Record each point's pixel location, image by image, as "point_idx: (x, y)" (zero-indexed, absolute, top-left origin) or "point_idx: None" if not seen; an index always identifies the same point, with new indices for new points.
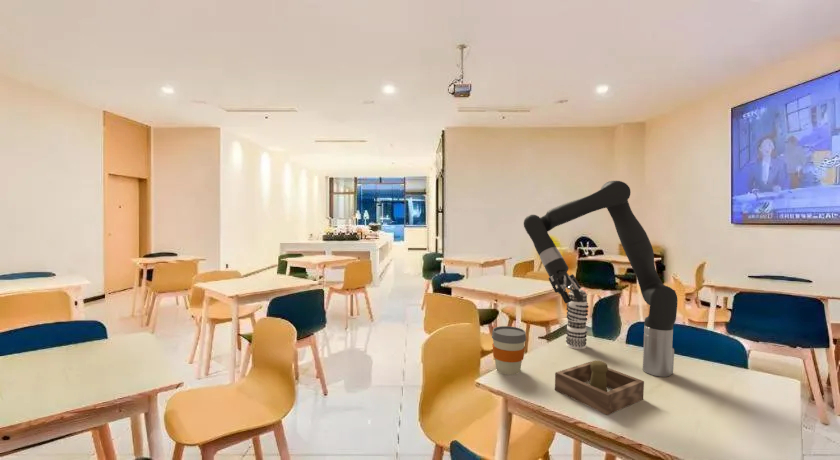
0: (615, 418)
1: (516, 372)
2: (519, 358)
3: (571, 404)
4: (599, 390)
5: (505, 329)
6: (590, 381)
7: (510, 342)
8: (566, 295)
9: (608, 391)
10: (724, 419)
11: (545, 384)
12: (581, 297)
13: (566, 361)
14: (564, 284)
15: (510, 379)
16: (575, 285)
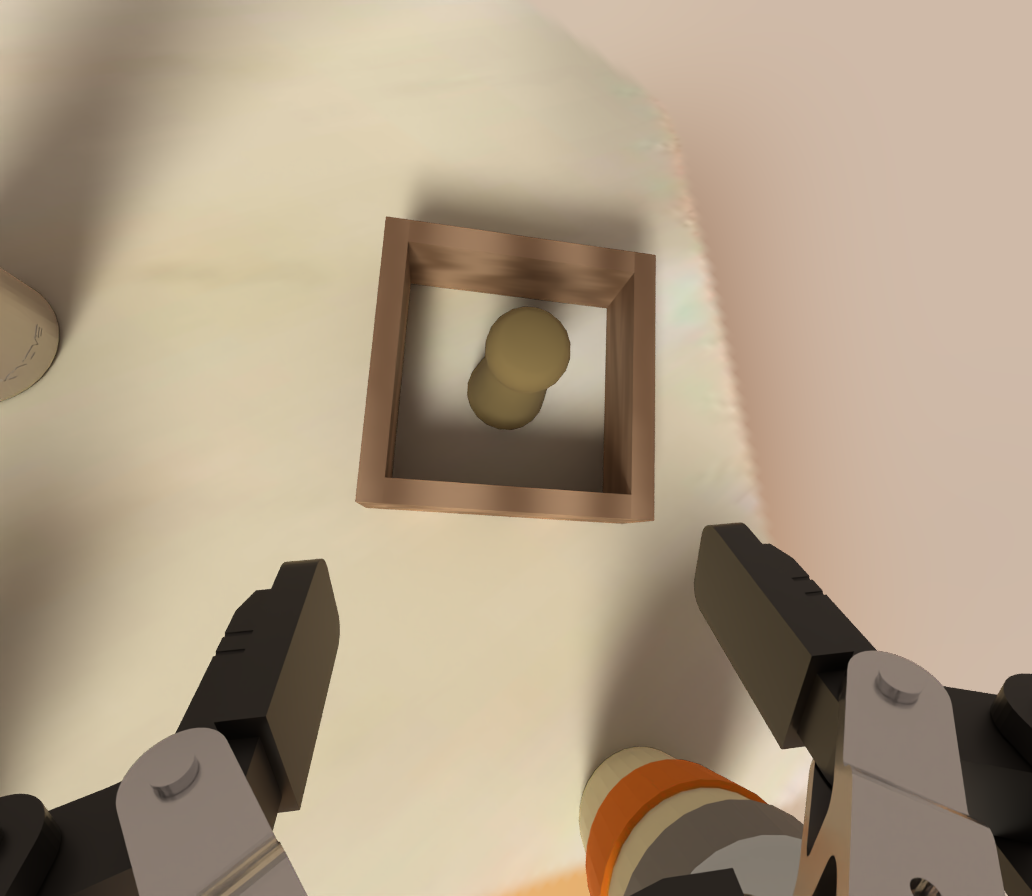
0: None
1: (646, 749)
2: (680, 764)
3: (666, 409)
4: (645, 296)
5: None
6: (538, 401)
7: None
8: (796, 604)
9: (622, 269)
10: (311, 35)
11: (612, 583)
12: (311, 583)
13: None
14: (955, 809)
15: (707, 715)
16: (190, 890)
